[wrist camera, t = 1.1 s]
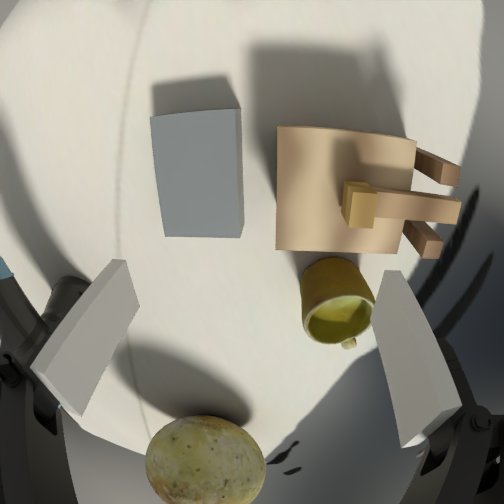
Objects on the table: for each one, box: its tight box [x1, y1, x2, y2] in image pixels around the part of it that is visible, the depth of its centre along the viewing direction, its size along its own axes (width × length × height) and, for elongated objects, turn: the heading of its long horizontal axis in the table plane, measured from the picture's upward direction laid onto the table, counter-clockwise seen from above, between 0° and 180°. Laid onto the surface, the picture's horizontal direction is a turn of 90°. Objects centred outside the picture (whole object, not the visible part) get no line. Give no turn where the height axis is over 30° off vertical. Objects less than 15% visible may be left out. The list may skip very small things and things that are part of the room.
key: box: [341, 181, 461, 229], centre depth 20 cm, size 12×3×3 cm, turn 91°
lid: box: [276, 125, 417, 254], centre depth 23 cm, size 12×11×3 cm
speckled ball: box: [145, 415, 265, 504], centre depth 51 cm, size 30×30×30 cm
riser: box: [150, 108, 244, 238], centre depth 29 cm, size 9×14×4 cm, turn 1°
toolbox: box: [402, 147, 461, 259], centre depth 25 cm, size 16×9×12 cm, turn 91°
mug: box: [300, 257, 375, 350], centre depth 35 cm, size 12×10×10 cm
